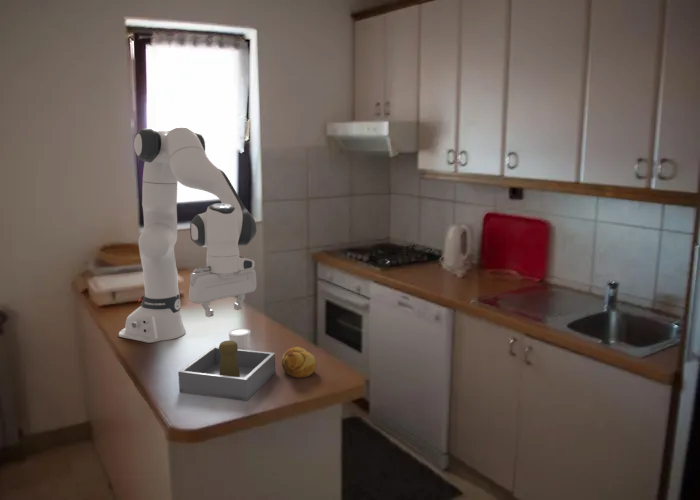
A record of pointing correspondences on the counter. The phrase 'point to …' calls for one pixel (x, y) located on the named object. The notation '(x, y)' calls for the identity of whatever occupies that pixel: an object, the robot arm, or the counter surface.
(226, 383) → the bin
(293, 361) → the bread roll
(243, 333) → the shot glass
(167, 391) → the counter surface
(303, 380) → the counter surface
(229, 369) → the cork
